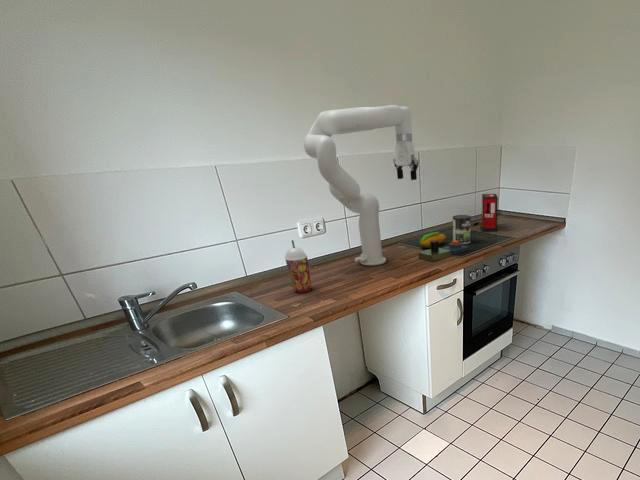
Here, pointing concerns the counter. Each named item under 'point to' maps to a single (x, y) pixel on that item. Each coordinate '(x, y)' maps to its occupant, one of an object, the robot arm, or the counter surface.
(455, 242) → the button
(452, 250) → the button box
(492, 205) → the cleaning product box
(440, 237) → the corn
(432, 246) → the knob
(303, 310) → the counter surface
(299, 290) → the smoothie
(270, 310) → the counter surface
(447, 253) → the panel
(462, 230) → the coffee can
